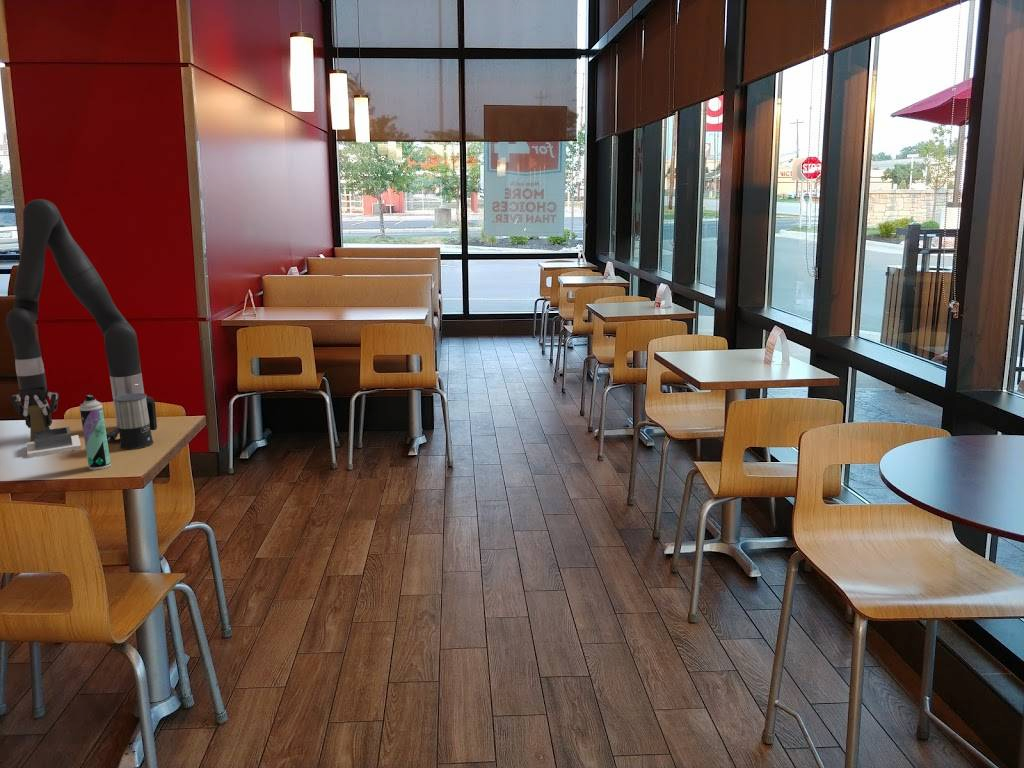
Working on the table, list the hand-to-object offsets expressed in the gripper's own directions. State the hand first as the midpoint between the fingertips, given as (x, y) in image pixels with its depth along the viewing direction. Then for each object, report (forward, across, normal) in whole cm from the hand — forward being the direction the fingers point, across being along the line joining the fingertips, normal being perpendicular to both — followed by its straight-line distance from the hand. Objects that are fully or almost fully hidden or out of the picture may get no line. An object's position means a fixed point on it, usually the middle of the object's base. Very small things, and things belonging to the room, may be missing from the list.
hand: (39, 426), depth 278 cm
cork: (+4, 0, 0) cm, 4 cm away
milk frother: (+4, -30, +12) cm, 33 cm away
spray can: (+4, -31, +35) cm, 47 cm away
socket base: (+4, -9, +12) cm, 16 cm away
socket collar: (+3, -9, +12) cm, 15 cm away
